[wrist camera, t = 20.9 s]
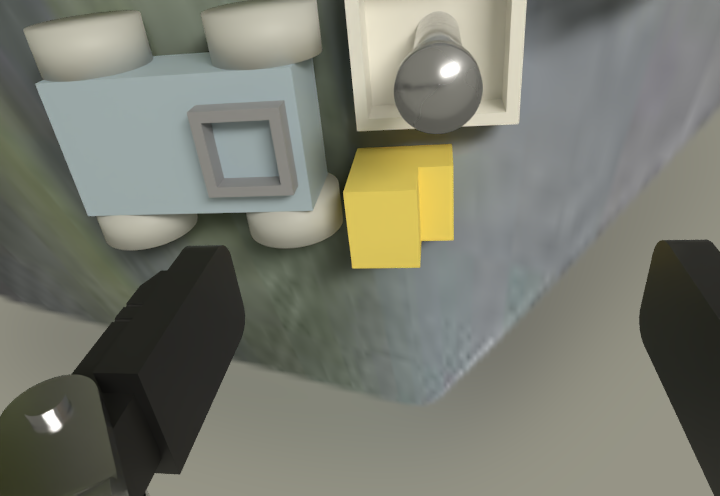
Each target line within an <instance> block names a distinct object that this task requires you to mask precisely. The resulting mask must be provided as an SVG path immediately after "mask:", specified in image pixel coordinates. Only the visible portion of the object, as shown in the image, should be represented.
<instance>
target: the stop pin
mask: <svg viewBox="0 0 720 496" xmlns="http://www.w3.org/2000/svg"><path fill="white" fill-rule="evenodd" d="M482 93H483V83H482V77H481V73H480V70H479V67H478V64H477V62H476V60H475V59H474V57H473V56H472V55H471V54H470V52H469V51H467V50H466V49H465V48H464V47H462V42H461V37H460V31H459V26H458V24H457V22H456V20H455V19H454V18H453V17H452V16H451V15H450V14H448V13H446V12H441V11H436V12H432V13H429V14H428V15H426V16H425V17H424V18H423V19H422V20H421V21H420V23H419V24H418V27H417V30H416V36H415V42H414V48H413V50H412V51H410V53H409V54H408V55H407V56H406V57H405V58H404V59H403V61H402V63H401V64H400V66H399V69H398V72H397V75H396V79H395V84H394V100H395V104H396V107H397V109H398V111H399V113H400V115H401V116H402V117H403V119H404V120H405V121H406V122H407V123H408V124H409V125H411V126H412V127H414V128H415V129H417V130H419V131H422V132H425V133H430V134H443V133H448V132H451V131H454V130H456V129H458V128H460V127H462V126H463V125H464V124H466V123H467V122H468V121H469V120H470V119H471V118H472V117H473V115H474V114H475V113H476V111H477V109H478V107H479V105H480V102H481V99H482Z"/></svg>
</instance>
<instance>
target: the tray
mask: <svg viewBox="0 0 720 496" xmlns="http://www.w3.org/2000/svg"><path fill="white" fill-rule="evenodd" d="M344 1H345V11H346V22H347V32H348V42H349V53H350V63H351V73H352V84H353V94H354V104H355V115H356V125H357V131H375V130H397V129H415V128H414V127H412V126H411V125H409V124H408V123H407V122H406V121H405V120H404V119H403V117H402V116H401V115H400V113H399V111H398V109H397V107H396V104H395V100H394V84H395V79H396V75H397V72H398V69H399V66H400V64H401V63H402V61H403V59H404V58H405V57H406V56H407V55H408V54H409V53H410V51H412V50H413V48H414V42H415V36H416V30H417V27H418V24H419V23H420V21H421V20H422V19H423V18H424V17H425V16H426V15H428V14H429V13H432V12H436V11H441V12H446V13H448V14H450V15H451V16H452V17H453V18H454V19H455V20H456V22H457V24H458V26H459V31H460V37H461V42H462V47H464V48H465V49H466V50H467V51H469V52H470V54H471V55H472V56H473V57H474V59H475V60H476V62H477V64H478V67H479V70H480V73H481V77H482V83H483V93H482V99H481V102H480V105H479V107H478V109H477V111H476V113H475V114H474V115H473V117H472V118H471V119H470V120H469V121H468V122H467V123H466V124H464V125H463V126H485V125H507V124H519V112H520V97H521V82H522V66H523V51H524V35H525V20H526V5H527V0H344ZM463 126H462V127H463Z"/></svg>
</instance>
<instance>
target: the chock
mask: <svg viewBox="0 0 720 496" xmlns="http://www.w3.org/2000/svg"><path fill="white" fill-rule="evenodd" d="M343 196H344V205H345V213H346V221H347V229H348V237H349V245H350V253H351V261H352V268H420V259H421V241H441V240H454V225H453V155H452V144H439V145H417V146H395V147H373V148H357V151H356V154H355V157H354V160H353V164H352V167H351V170H350V173H349V176H348V179H347V182H346V185H345V188H344V191H343Z"/></svg>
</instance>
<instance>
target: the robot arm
mask: <svg viewBox="0 0 720 496" xmlns="http://www.w3.org/2000/svg"><path fill="white" fill-rule="evenodd" d="M126 304H127V306H126V307H123V309H122V310H121V311H120V312H119V314H118V315H117V316H116V318H115V322H112V323H111V324H110V325H109V327H108V328H107V329H106V330H105V332H104V333H103V334H102V336H101V337H100V338H99V339H98V341H97V342H96V344H95V345H94V346H93V347H92V348H91V350H90V351H89V353H88V354H87V355H86V356H85V358H84V359H83V360H82V361H81V363H80V364H79V365H78V367H77V368H76V369H75V370H74V372H73V373H72V374H71V375H62V376H58V377H54V378H51V379H48V380H45V381H43V382H41V383H38V384H36V385H35V386H33V387H31V388H29V389H27V390H26V391H25V392H23V393H22V394H20V395H19V396H18V397H16V398H15V399H14V400H13V401H12V402H11V403H10V404H9V405H8V406H7V407H6V408H5V410H4V411H3V413H2V414H1V416H0V496H150V495H149V493H148V491H147V487H148V485H149V483H150V481H151V479H152V477H153V475H154V473H165V474H180V473H181V471H182V469H183V466H184V464H185V462H186V460H187V458H188V455H189V453H190V451H191V449H192V447H193V444H194V442H195V440H196V438H197V435H198V433H199V431H200V429H201V427H202V424H203V422H204V420H205V418H206V415H207V413H208V411H209V409H210V407H211V404H212V402H213V400H214V398H215V396H216V393H217V391H218V389H219V387H220V384H221V382H222V380H223V378H224V376H225V373H226V371H227V369H228V367H229V365H230V362H231V360H232V358H233V356H234V353H235V351H236V349H237V347H238V345H239V342H240V340H241V338H242V335H243V331H244V325H245V311H244V305H243V301H242V297H241V293H240V290H239V286H238V282H237V278H236V274H235V270H234V266H233V262H232V258H231V255H230V252H229V250H228V249H227V247H225V246H223V245H216V246H187V247H185V248H184V249H183V250H182V252H181V253H180V254H179V256H178V257H177V258H176V260H175V261H174V262H173V264H172V265H171V267H170V268H169V269H168V271H160V272H159V273H158V274H156V275H155V276H153V277H152V278H151V279H149V280H148V281H146V282H145V283H144V284H142V285H141V286H140V287H139V288H138V289H137V291H136V292H135V293H134V294H133V296H132V297H131V298H130V300H129V301H128V302H127V303H126ZM639 324H640V333H641V338H642V340H643V344H644V346H645V348H646V350H647V352H648V354H649V357H650V359H651V361H652V363H653V365H654V367H655V370H656V372H657V374H658V376H659V378H660V380H661V382H662V385H663V386H664V389H665V391H666V393H667V395H668V397H669V399H670V402H671V404H672V406H673V408H674V410H675V412H676V415H677V417H678V419H679V421H680V423H681V425H682V428H683V429H684V431H685V434H686V436H687V438H688V440H689V443H690V444H691V447H692V449H693V451H694V453H695V455H696V457H697V460H698V462H699V464H700V466H701V468H702V470H703V472H704V475H705V477H706V479H707V481H708V483H709V485H710V488H711V490H712V492H713V494H714V496H720V252H719V250H718V249H717V248H716V247H715V246H714V244H713V243H712V242H711V241H709V240H662V241H659V242H658V243H657V245H656V246H655V249H654V252H653V255H652V260H651V264H650V269H649V273H648V277H647V282H646V286H645V290H644V295H643V299H642V304H641V309H640V316H639Z"/></svg>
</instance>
